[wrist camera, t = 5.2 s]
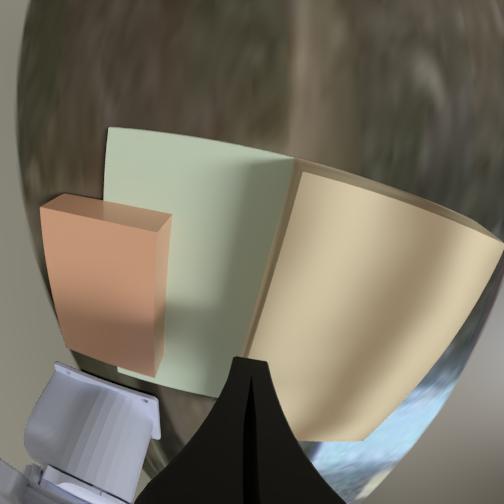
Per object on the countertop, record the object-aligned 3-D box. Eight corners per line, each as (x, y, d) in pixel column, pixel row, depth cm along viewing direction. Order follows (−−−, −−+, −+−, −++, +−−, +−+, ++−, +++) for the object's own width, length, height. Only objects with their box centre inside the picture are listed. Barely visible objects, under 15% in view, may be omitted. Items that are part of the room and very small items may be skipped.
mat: (119, 368, 18) (118, 371, 18) (111, 126, 11) (108, 127, 10) (227, 396, 18) (227, 399, 18) (293, 157, 11) (294, 158, 11)
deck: (227, 396, 18) (223, 431, 16) (293, 157, 11) (302, 171, 8) (356, 409, 19) (362, 440, 16) (472, 219, 12) (505, 244, 9)
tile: (155, 378, 15) (164, 353, 16) (157, 232, 10) (172, 214, 12) (66, 347, 14) (80, 327, 16) (39, 207, 10) (64, 193, 12)
